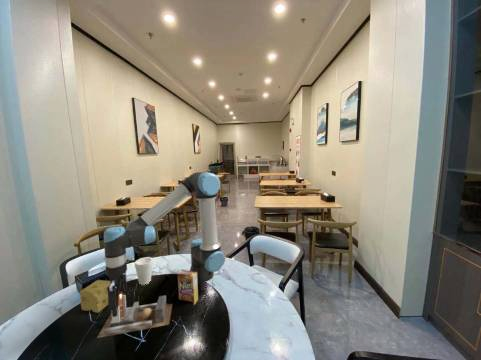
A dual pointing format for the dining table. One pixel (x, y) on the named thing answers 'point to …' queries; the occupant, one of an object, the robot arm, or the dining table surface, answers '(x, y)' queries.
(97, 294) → the cheese
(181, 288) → the candy box
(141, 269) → the foam cup
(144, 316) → the nut
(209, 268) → the robot arm
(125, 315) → the ram
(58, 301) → the dining table surface
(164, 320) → the board
